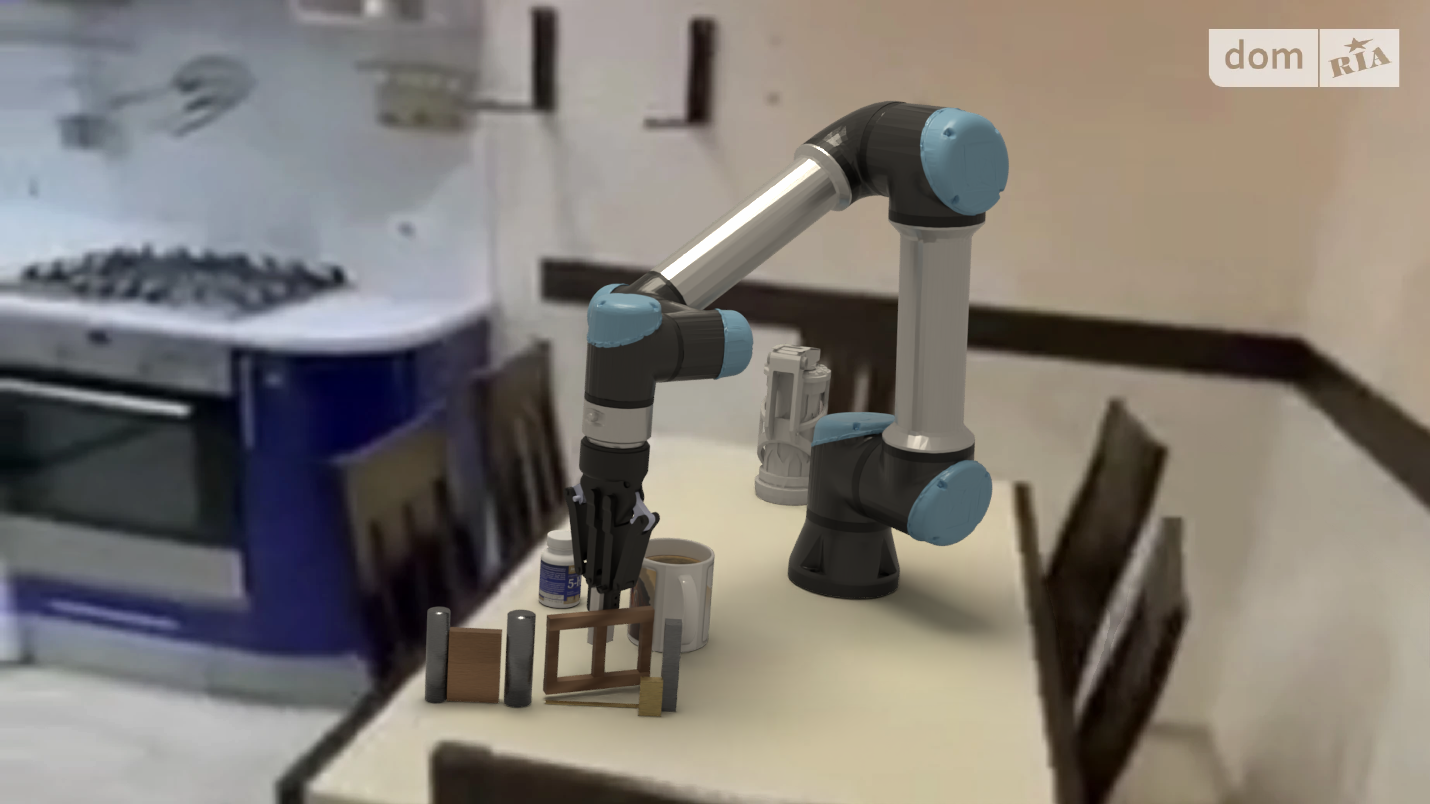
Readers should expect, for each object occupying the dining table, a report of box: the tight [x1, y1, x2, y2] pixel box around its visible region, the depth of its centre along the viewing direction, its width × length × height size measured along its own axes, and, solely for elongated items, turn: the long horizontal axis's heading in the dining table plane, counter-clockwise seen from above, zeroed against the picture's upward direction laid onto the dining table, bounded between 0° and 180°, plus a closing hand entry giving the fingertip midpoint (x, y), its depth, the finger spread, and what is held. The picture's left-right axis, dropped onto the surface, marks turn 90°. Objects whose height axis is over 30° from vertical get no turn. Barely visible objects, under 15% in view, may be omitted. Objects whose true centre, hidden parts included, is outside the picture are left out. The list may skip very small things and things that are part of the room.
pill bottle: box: [538, 529, 583, 609], centre depth 199 cm, size 5×5×9 cm
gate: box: [542, 606, 655, 696], centre depth 173 cm, size 12×1×9 cm, turn 113°
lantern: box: [754, 343, 832, 506], centre depth 247 cm, size 13×10×25 cm
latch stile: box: [637, 618, 683, 718], centre depth 170 cm, size 4×3×10 cm
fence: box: [424, 606, 639, 709], centre depth 170 cm, size 25×3×10 cm, turn 94°
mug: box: [626, 537, 716, 653], centre depth 189 cm, size 10×12×11 cm
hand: (600, 641), depth 176 cm, fingers closed
